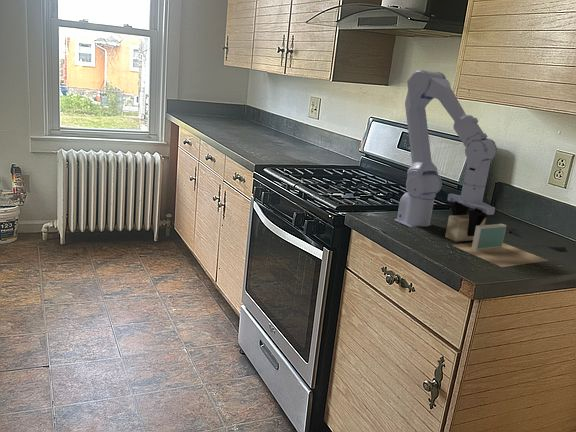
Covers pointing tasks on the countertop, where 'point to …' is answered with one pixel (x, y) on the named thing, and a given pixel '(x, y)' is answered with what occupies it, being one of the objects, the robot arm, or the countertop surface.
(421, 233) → the countertop surface
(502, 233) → the tile
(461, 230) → the tan mottled block
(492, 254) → the cork mat
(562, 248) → the bracket
